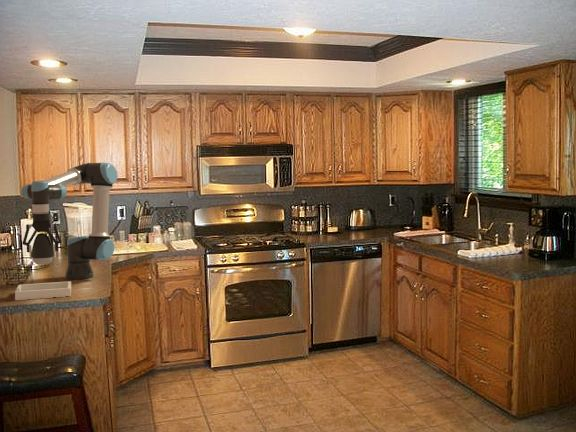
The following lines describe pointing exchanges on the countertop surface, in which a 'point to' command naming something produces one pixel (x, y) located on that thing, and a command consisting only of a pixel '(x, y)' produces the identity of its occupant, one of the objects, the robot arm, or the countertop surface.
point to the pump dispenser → (42, 250)
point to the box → (43, 290)
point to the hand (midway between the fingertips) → (42, 258)
